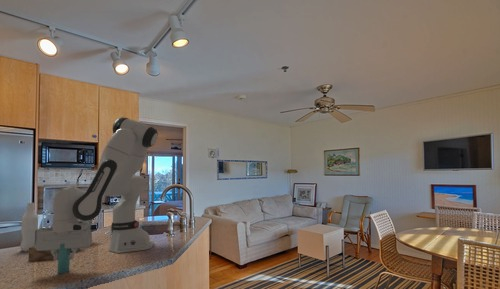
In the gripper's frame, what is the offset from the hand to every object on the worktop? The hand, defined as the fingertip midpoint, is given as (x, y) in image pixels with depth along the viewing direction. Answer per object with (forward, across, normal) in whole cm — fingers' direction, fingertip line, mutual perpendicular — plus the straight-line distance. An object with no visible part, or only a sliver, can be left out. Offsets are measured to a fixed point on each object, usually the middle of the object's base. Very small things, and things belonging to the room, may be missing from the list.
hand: (63, 259), depth 112 cm
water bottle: (+5, -34, +40) cm, 53 cm away
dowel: (+5, 0, 0) cm, 5 cm away
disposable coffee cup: (+5, -10, +44) cm, 45 cm away
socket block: (+5, -17, +25) cm, 31 cm away
